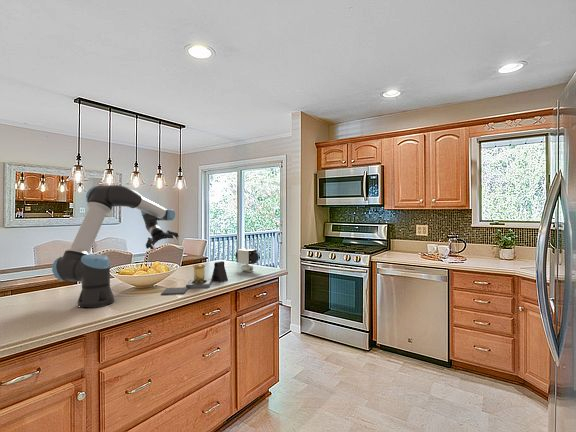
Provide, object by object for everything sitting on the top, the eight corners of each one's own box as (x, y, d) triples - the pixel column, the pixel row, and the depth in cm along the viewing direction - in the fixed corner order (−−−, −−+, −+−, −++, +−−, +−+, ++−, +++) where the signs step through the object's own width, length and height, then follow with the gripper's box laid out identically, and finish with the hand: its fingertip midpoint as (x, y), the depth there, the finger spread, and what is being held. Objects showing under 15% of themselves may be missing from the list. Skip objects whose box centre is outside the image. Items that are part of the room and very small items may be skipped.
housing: (209, 287, 183) (209, 284, 183) (185, 288, 182) (185, 285, 182) (211, 282, 197) (211, 278, 197) (190, 282, 196) (190, 279, 195)
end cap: (204, 286, 187) (204, 266, 186) (192, 286, 186) (192, 266, 185) (205, 283, 193) (205, 264, 193) (194, 284, 192) (194, 264, 192)
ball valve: (260, 272, 228) (260, 247, 228) (251, 273, 222) (251, 248, 222) (243, 269, 240) (243, 245, 240) (235, 270, 234) (234, 246, 233)
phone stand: (228, 280, 202) (227, 261, 202) (221, 282, 197) (220, 263, 197) (218, 278, 207) (217, 260, 207) (211, 280, 202) (210, 261, 202)
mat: (184, 294, 169) (184, 292, 169) (161, 295, 168) (161, 293, 168) (188, 288, 181) (188, 287, 181) (166, 289, 180) (166, 288, 180)
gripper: (176, 230, 218) (187, 242, 202) (139, 244, 206) (147, 258, 190) (173, 221, 214) (184, 232, 199) (135, 235, 202) (143, 248, 187)
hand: (166, 245), depth 194 cm, fingers open, 13 cm apart
